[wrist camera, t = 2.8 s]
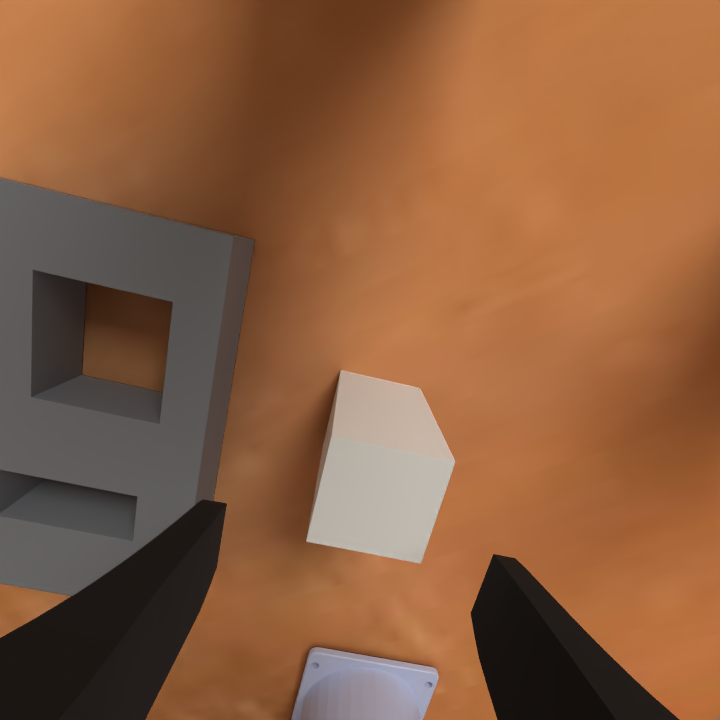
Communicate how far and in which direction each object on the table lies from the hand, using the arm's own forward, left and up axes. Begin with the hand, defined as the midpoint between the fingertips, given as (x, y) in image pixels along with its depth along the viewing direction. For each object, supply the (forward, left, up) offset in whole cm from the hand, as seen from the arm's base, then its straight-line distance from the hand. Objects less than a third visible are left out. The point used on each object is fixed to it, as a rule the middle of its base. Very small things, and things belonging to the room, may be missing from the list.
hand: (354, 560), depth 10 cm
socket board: (-2, +12, -9) cm, 15 cm away
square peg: (0, -1, -10) cm, 10 cm away
